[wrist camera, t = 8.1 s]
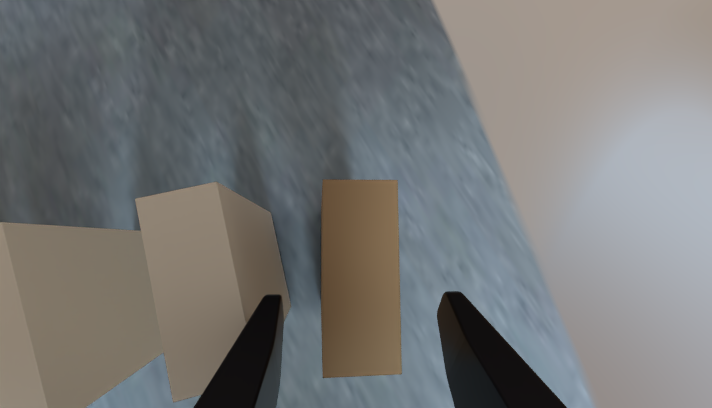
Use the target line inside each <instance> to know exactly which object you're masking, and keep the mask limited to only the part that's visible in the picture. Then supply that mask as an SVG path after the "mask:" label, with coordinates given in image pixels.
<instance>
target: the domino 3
mask: <svg viewBox="0 0 712 408" xmlns="http://www.w3.org/2000/svg"><path fill="white" fill-rule="evenodd" d="M321 321H322V367H323V378H331V377H352V376H373V375H395V374H402V366H401V320H400V274H399V228H398V182H397V180H323V186H322V206H321Z"/></svg>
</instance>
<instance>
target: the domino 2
mask: <svg viewBox="0 0 712 408" xmlns="http://www.w3.org/2000/svg"><path fill="white" fill-rule="evenodd" d="M135 201H136V207H137V212H138V217H139V223H140V228H141V233H142V239H143V244H144V249H145V255H146V260H147V265H148V271H149V276H150V281H151V287H152V292H153V297H154V303H155V308H156V313H157V319H158V324H159V330H160V335H161V340H162V346H163V351H164V356H165V362H166V367H167V372H168V378H169V383H170V388H171V394H172V399H173V402H177V401H180V400H184V399H188V398H191V397H195V396H198V395H202V394H203V392H204V390H205V389H206V387H207V386H208V384H209V382H210V381H211V379H212V378H213V376H214V374H215V373H216V371H217V370H218V368H219V366H220V365H221V363H222V362H223V360H224V358H225V357H226V355H227V354H228V352H229V351H230V349H231V347H232V346H233V344H234V343H235V341H236V339H237V338H238V336H239V335H240V333H241V331H242V330H243V328H244V327H245V325H246V323H247V322H248V320H249V319H250V317H251V315H252V314H253V312H254V311H255V309H256V307H257V306H258V304H259V303H260V301H261V300H262V298H263V297H264V296H265V295H267V294H280V295H281V296H282V302H283V312H284V320H285V318H286V316H287V314H288V312H289V310H290V308H291V303H290V298H289V294H288V289H287V285H286V280H285V275H284V271H283V266H282V262H281V257H280V253H279V248H278V243H277V239H276V234H275V230H274V225H273V220H272V216H271V213H270V212H269V211H267V210H265V209H263V208H262V207H260V206H258V205H256V204H255V203H253V202H251V201H249V200H248V199H246V198H244V197H242V196H241V195H239V194H237V193H235V192H234V191H232V190H230V189H228V188H227V187H225V186H223V185H221V184H220V183H218V182H213V183H208V184H203V185H198V186H194V187H189V188H184V189H179V190H175V191H170V192H165V193H160V194H155V195H151V196H146V197H141V198H136V199H135Z"/></svg>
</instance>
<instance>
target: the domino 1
mask: <svg viewBox="0 0 712 408" xmlns="http://www.w3.org/2000/svg"><path fill="white" fill-rule="evenodd" d="M163 352H164V351H163V346H162V340H161V335H160V330H159V324H158V319H157V313H156V308H155V303H154V297H153V292H152V287H151V281H150V276H149V271H148V265H147V260H146V255H145V249H144V244H143V239H142V233H141V231H135V230H119V229H103V228H87V227H71V226H55V225H38V224H22V223H6V222H1V223H0V408H85V407H87V406H88V405H90V404H91V403H93V402H94V401H95V400H97V399H98V398H100V397H101V396H102V395H104V394H105V393H107V392H108V391H110V390H111V389H112V388H114V387H115V386H117V385H118V384H119V383H121V382H122V381H124V380H125V379H127V378H128V377H129V376H131V375H132V374H134V373H135V372H136V371H138V370H139V369H141V368H142V367H143V366H145V365H146V364H148V363H149V362H151V361H152V360H153V359H155V358H156V357H158V356H159V355H160V354H162V353H163Z"/></svg>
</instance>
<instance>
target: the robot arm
mask: <svg viewBox="0 0 712 408" xmlns="http://www.w3.org/2000/svg"><path fill="white" fill-rule="evenodd" d="M437 320H438V326H439V332H440V338H441V345H442V351H443V357H444V363H445V369H446V375H447V379H448V383H449V387H450V391H451V395H452V398H453V402H454V406H455V408H567V407H566V406H565V405H564V404H563V403H562V402H561V401H560V399H559V398H558V397H557V396H556V395H555V394H554V393H553V392H552V391H551V390H550V389H549V387H548V386H547V385H546V384H545V383H544V382H543V381H542V380H541V379H540V378H539V376H538V375H537V374H536V373H535V372H534V371H533V370H532V369H531V368H530V367H529V366H528V364H527V363H526V362H525V361H524V360H523V359H522V358H521V357H520V356H519V355H518V354H517V352H516V351H515V350H514V349H513V348H512V347H511V346H510V345H509V344H508V343H507V342H506V340H505V339H504V338H503V337H502V336H501V335H500V334H499V333H498V332H497V331H496V330H495V328H494V327H493V326H492V325H491V324H490V323H489V322H488V321H487V320H486V319H485V318H484V316H483V315H482V314H481V313H480V312H479V311H478V310H477V309H476V308H475V307H474V305H473V304H472V303H471V302H470V301H469V300H468V299H467V298H466V297H465V296H464V295H463V294H462V293H461V292H458V291H449V292H445V293H444V294H443V296H442V299H441V302H440V305H439V308H438V311H437ZM283 326H284V312H283V302H282V296H281V295H280V294H267V295H265V296H264V297H263V298H262V300H261V301H260V303H259V304H258V306H257V307H256V309H255V311H254V312H253V314H252V315H251V317H250V319H249V320H248V322H247V323H246V325H245V327H244V328H243V330H242V331H241V333H240V335H239V336H238V338H237V339H236V341H235V343H234V344H233V346H232V347H231V349H230V351H229V352H228V354H227V355H226V357H225V358H224V360H223V362H222V363H221V365H220V366H219V368H218V370H217V371H216V373H215V374H214V376H213V378H212V379H211V381H210V382H209V384H208V386H207V387H206V389H205V390H204V392H203V394H202V395H201V397H200V398H199V400H198V401H197V403H196V405H195V406H194V408H276V404H277V398H278V392H279V386H280V376H281V360H282V343H283Z"/></svg>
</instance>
